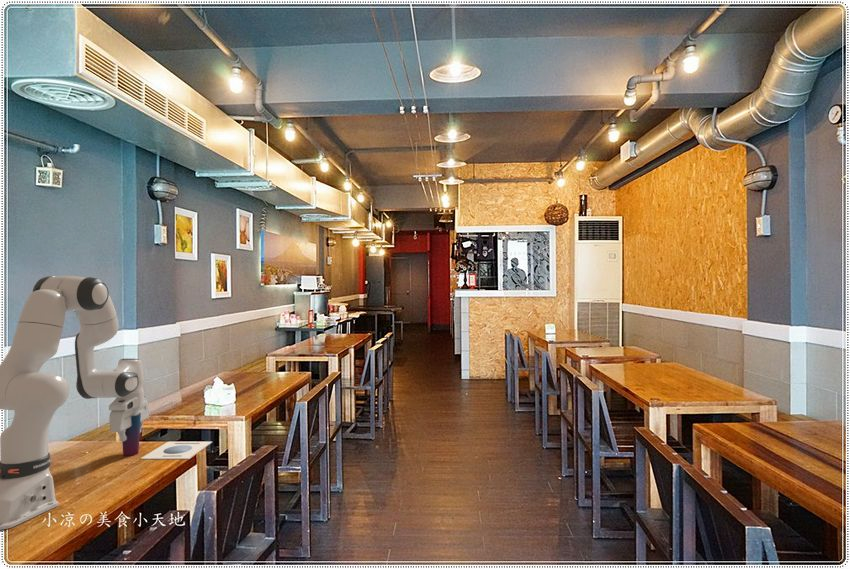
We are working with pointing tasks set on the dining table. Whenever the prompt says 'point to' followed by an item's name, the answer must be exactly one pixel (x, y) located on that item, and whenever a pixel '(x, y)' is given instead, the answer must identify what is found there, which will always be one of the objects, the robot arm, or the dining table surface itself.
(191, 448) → the paper sheet
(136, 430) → the cup
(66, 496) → the dining table surface
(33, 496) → the robot arm
